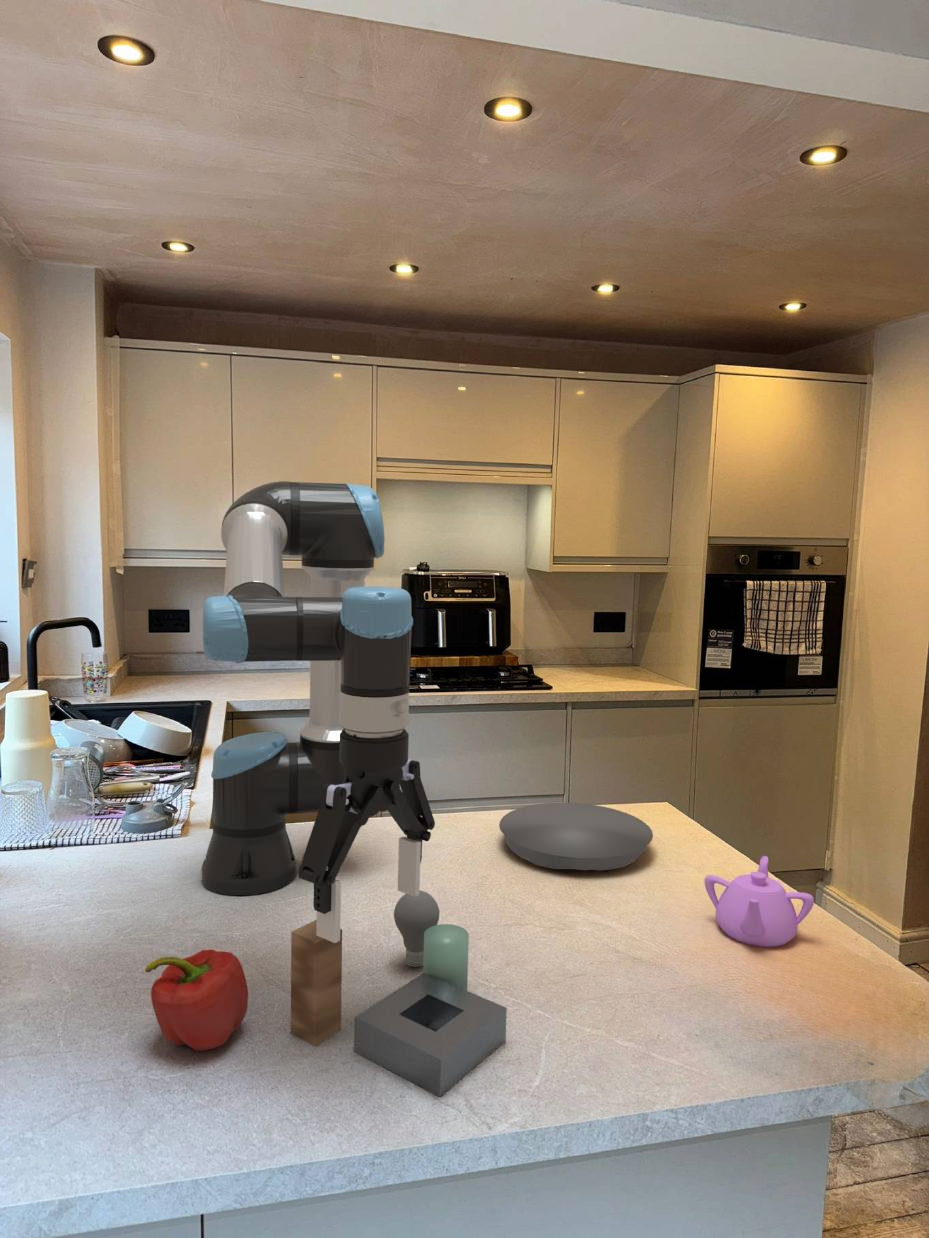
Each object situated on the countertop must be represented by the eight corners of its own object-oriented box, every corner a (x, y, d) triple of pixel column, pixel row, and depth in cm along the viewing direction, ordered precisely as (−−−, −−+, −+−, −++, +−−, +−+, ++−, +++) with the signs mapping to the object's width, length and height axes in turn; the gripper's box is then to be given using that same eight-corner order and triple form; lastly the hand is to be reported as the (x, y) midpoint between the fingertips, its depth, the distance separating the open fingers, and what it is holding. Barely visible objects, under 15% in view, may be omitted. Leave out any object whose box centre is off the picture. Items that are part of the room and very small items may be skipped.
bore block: (354, 1051, 91) (354, 1016, 90) (423, 1003, 100) (423, 972, 100) (440, 1097, 84) (441, 1059, 83) (505, 1041, 93) (506, 1007, 93)
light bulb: (444, 958, 111) (446, 887, 110) (428, 980, 106) (430, 905, 105) (403, 950, 113) (405, 879, 112) (385, 971, 108) (386, 897, 107)
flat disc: (505, 819, 168) (506, 798, 168) (645, 829, 164) (646, 807, 164) (490, 876, 141) (491, 851, 140) (658, 889, 137) (660, 863, 136)
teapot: (762, 908, 130) (765, 853, 129) (822, 951, 116) (827, 890, 115) (695, 915, 126) (698, 859, 125) (749, 960, 113) (753, 898, 112)
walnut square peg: (290, 1032, 94) (291, 931, 93) (316, 1017, 97) (317, 919, 96) (315, 1046, 91) (316, 942, 90) (340, 1029, 95) (342, 929, 93)
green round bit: (413, 998, 101) (414, 936, 101) (441, 979, 106) (442, 920, 105) (448, 1014, 98) (450, 950, 97) (475, 994, 103) (477, 933, 102)
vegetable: (148, 1077, 85) (147, 985, 84) (143, 1023, 95) (142, 939, 94) (255, 1053, 90) (255, 966, 89) (240, 1004, 99) (240, 924, 98)
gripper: (317, 760, 78) (315, 972, 80) (467, 714, 98) (461, 884, 101) (263, 746, 82) (262, 948, 84) (417, 705, 102) (413, 868, 105)
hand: (370, 914), depth 92 cm, fingers open, 13 cm apart
